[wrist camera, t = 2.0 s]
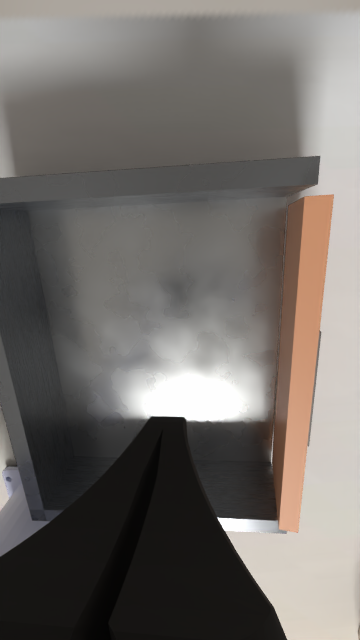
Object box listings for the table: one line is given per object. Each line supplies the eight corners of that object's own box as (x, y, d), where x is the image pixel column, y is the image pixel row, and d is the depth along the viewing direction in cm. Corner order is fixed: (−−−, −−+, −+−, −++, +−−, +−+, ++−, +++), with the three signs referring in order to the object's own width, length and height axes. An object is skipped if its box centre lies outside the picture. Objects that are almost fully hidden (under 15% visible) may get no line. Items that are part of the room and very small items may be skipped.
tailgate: (289, 465, 20) (301, 533, 16) (272, 463, 20) (278, 529, 16) (311, 204, 15) (338, 194, 10) (288, 205, 15) (304, 196, 11)
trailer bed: (267, 462, 22) (286, 533, 17) (70, 456, 24) (32, 520, 19) (283, 179, 16) (320, 156, 11) (19, 196, 18) (-59, 182, 13)
